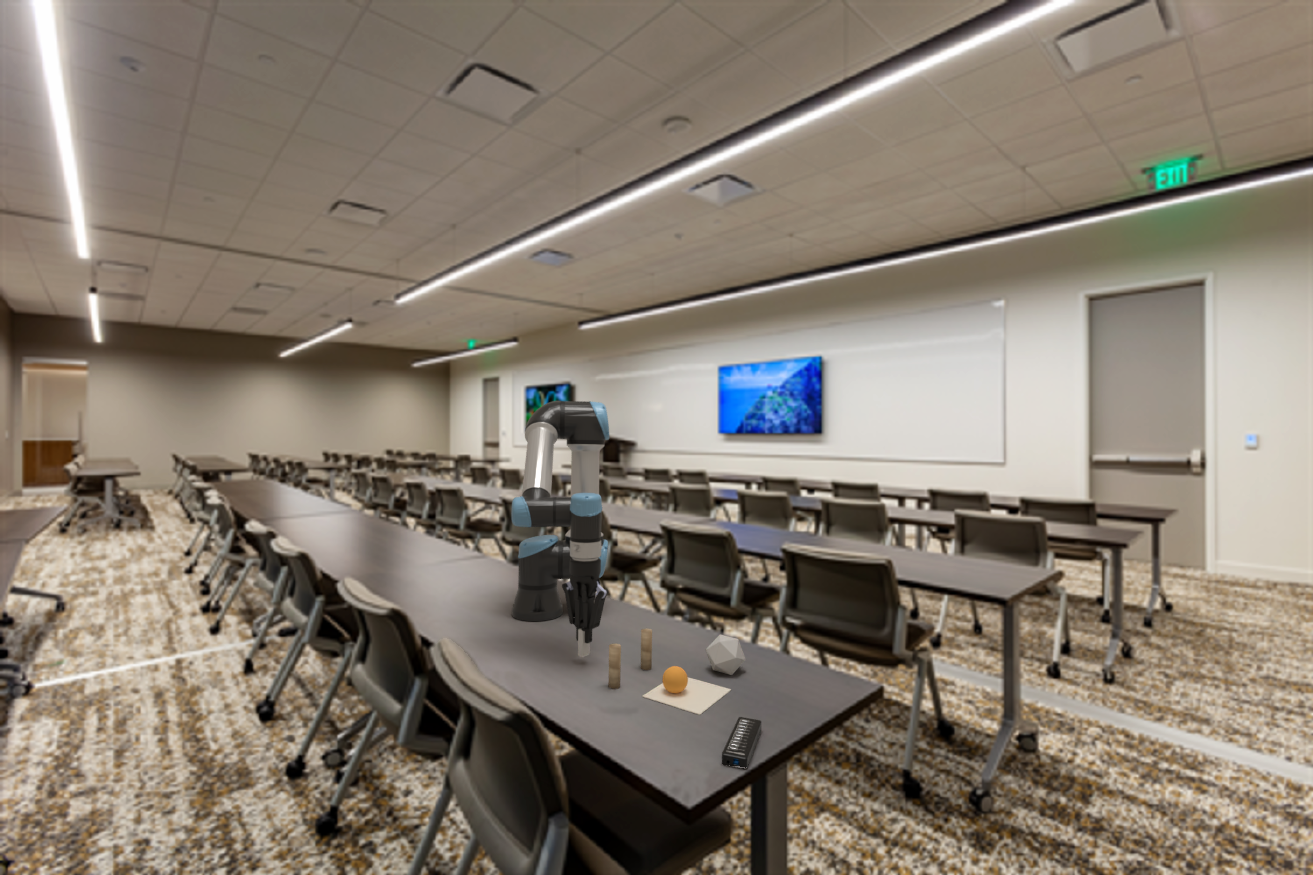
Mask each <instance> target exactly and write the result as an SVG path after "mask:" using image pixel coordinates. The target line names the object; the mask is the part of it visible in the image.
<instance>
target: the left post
mask: <svg viewBox="0 0 1313 875" xmlns="http://www.w3.org/2000/svg"><path fill="white" fill-rule="evenodd" d="M621 653H622V645H621V644H620V643H610V644H609V645H608V688H609V689H612V690H614V689H615V690H616V689H619V688H621V669H622V668H621V666H622V665H621V660H622V659H621V656H622V654H621Z"/></svg>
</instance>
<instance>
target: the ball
mask: <svg viewBox="0 0 1313 875" xmlns="http://www.w3.org/2000/svg"><path fill="white" fill-rule="evenodd" d="M662 683H663V685H664V687H665V689H666V690H667V691H669V692H671V693H680V692H682V691H683V690H684V689H685V688H686V686H687V683H688V674H687V672H686V671H685V670H684V669H683V668H682V667H681V666H677V665H673V666H670V667H668V668H666V670H664V672H663V674H662Z"/></svg>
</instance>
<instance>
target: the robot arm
mask: <svg viewBox="0 0 1313 875" xmlns="http://www.w3.org/2000/svg"><path fill="white" fill-rule="evenodd" d="M524 438H525V441H526V442H527V443H526V452H525V462H524V469H523V471H524V473H523V481H522V489H521V496H516V497H514V498H513V499H512V501H511V523H512V525H513V526H515V527H521V528H540V527H541V528H543V527H545V528H546V527H549V528H550V527H551V528H552V527H556V528H558V527H559V528H561V527H562V528H565V527H566V528H568V527H569V528H570V529H569V530H568V531H567V532H566V533H565V535H564V540H563V539H561V540H559V537H558V536H557V535H555V534H544V535H537V536H532V537H531V536H530V537H529V538H525V539H524V540H522V541H521V542H520V543H519V546H518V556H517V558H518V575H517V576H518V581H517V582H518V583H517V584H518V586H517V592H516V595H515V598H514V603H513V604H512V606H511V607H512V608H511V616H512V617H513V618H514V619H516V620H519V621H525V622H541V621H544V622H545V621H550V620H554V619H557V618H559V617H561V616H562V615H563V613H564V611H563V607H564V604H563V603H562V602H561V601H562V600H561V597H560V593H559V590H558V580H569V581H567V582H564V583H562V584H561V587H562V590H563V593H564V596H565V602H566V607H567V608H566V609H567V614H568V615H567V616H568V619H569V624H570V625H574V627H575V630H576V631H575V633H576V634H575V638H576V641H577V657H580V658H585V657H587V656H589V655H590V654H591V642H592V641H593V630H594V629H596V628H599V627H600V624H601V620H602V616H603V610H604V606H605V601H606V598H607V596H608V595H609V592H610V591H609V590H608V589H607V588H605V589H604V588H603V586H601V585H602V584H601V580H600V578H601V577H603V575H604V573H605V570H606V565H607V560H608V559H607V558H608V550H609V549H608V548H609V547H608V546H609V540H608V539H605V538H604V533H603V532H602V515H603V514H602V513H603V512H602V511H603V502H602V496H601V495H600V454H601V452H600V451H601V450H602V449H603V448H604V447H605V444H606V443H605V441H609V439H610V425H609V418H608V412H607V407H606V405H605V404H604V403H603V402H600V401H589V400H588V401H583V400H582V401H574V400H573V401H571V400H570V401H569V400H568V401H566V400H564V401H563V400H553V401H550V402H547V403H545V404H543V405H542V406H540V407H539V408H537V409H536V410H535V411H534V412H533V414H532V415H531V416H530V417H529V419H528V420H527V422H526V425H525V430H524ZM558 440H566V446H567V448H568V449H570V450H571V461H570V462H571V463H570V464H571V466H570V468H571V470H570V474H571V475H570V496H566V497H565V496H562V497H561V496H552V486H553V485H552V484H553V482H552V481H553V470H554V469H553V466H554V465H553V464H554V463H553V462H554V449H555V448H554V447H555V444H556V442H557V441H558Z"/></svg>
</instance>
